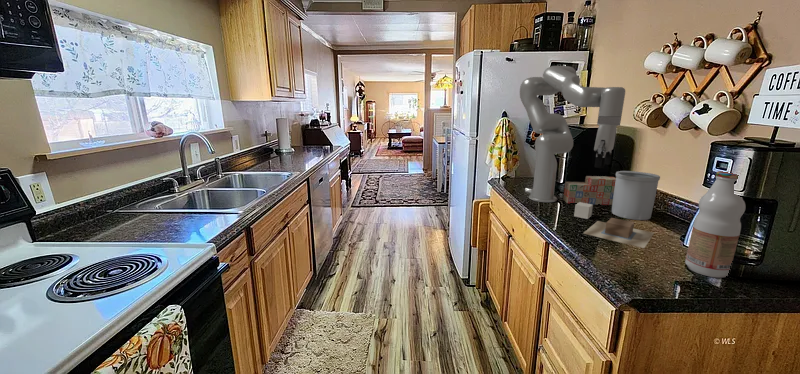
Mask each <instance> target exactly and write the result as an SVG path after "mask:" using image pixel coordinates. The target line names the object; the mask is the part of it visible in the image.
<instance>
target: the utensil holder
mask: <svg viewBox="0 0 800 374" xmlns="http://www.w3.org/2000/svg"><path fill="white" fill-rule="evenodd" d="M615 178H616V181H615V188H614V196H613V203H612V205H611V213H612V214H613V215H615V216H617V217H620V218H625V219H629V220H635V221H646V220H650V219H651V217H652V213H653V208H654V204H655V200H656V195H657V191H658V185H659V181H660V179H661V175H659V174H656V173H650V172H643V171H633V170H632V171H631V170H620V171H619V170H618V171H616V172H615Z"/></svg>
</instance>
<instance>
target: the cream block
mask: <svg viewBox="0 0 800 374" xmlns="http://www.w3.org/2000/svg"><path fill="white" fill-rule="evenodd" d="M593 208H594V204H587V203H582V202H579V203H577V204H574V214H573V217H575V218H581V219H585V220H588V219H590V217H592V215H593Z"/></svg>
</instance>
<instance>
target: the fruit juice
mask: <svg viewBox="0 0 800 374" xmlns="http://www.w3.org/2000/svg"><path fill="white" fill-rule="evenodd" d="M723 171H724V170H719V171H716V173H715V181H714V182H713V184H712V185H711V187H710V188H709V189H708V191H707V192H706V193H704V194H703V195H702V196H701V197H700V199H699V201H698V210H699V211H698V213H697V214H696V216H695V218H694V221H693V224H692V230H691V234H690V238H689V243H688V247H687V252H686V257H685V261H684V263H685V265H686V268H687V269H688V270H690V271H691V272H694V273H696V274H699V275H702V276H706V277H710V278H726V276H727V277H728V276H729V275H728V273H729V270H730V271H731V269H730V266H731V267H732V265H731V263H732V264H733V262H732V261H734V257H735V254H736V249H737V247H738V241H739V238H740V234H741V231H742V222H741V218H742V216H743V214H744V213H745V211H746V202H745V200H744V198H743V197H740V196H738V195H735V194H734V182H735V181H737V179H738V176H739V175H737V174H733V173H728V172H729V171H728V172H723ZM729 274H730V273H729Z"/></svg>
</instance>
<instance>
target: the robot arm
mask: <svg viewBox="0 0 800 374" xmlns="http://www.w3.org/2000/svg"><path fill="white" fill-rule="evenodd" d="M580 82H581V78H580V76H579V75H578V74H577V71H576V70H575V68H574V67H573V66H571V65H570V66H569V65H551V66H549V67H547V68H546V69H545V70H544V71H543V73H542V76H531V77H528V78H527V77H526V79H524V80H522V82H521V84H520V87H519V98H520V101H521V103H522V105H523V107H524V109H525V110H526V113H527V117H528V120H529V123H530V125H531V128H532V131H533V132H534V133H536V134H540V135H539V136H537V138H536V139H535V142H534V148H535V165H534V174H533V175H534V176H533V183H532V184H533V185H532V188H529V187H525V189H524V192H525V193H528V194H529V195H528V198H529V199H530V200H532V201H534V202H538V203H554V202H555V203H556V202H557V200H558V197H557V196H555V195H554V194H555V186H556V180H557V179H556V178H557V170H558V162H557V159H556V156H555V155H556V154H566V153H569V152H571V150H572V149H573V147H574V138H573V136H572V133H571V129H570V128H569V124H568V122H567V120H566V118H565V117H564V115H561V114H559V113H556V112H555V113H550V112H549V111H548V110H547V108H546V105H545V104H544V103H545V102H544V101H543V100H542V99H541V98H539V97H538V96H552V95H556V94H557V93H559V92H560V93H561V95H562V96H563V98H564V100H565V101H566V102H568V103H570V104H571V105H574V106H576V107H578V108H598V113H597V114H598V116H597V122H596V123H597V124H596V125H598V128H597V132H596V137H595V142H594V147H593V151H594V152H596V154H595V159H594V165H593V166H594V168H595V169H604V168H605V165H607V166H608V165H610V164H611V160H612V150H614V147H615V140H616V135H617V127H619V126H621V122H622V114H623V110H624V109H623V108H624V104H625V103H624V102H625V96H626V88H625V87H622V86H609V87H608V86H607V87H599V86H598V87H597V86H593V87H592V86H582V85H581V83H580Z"/></svg>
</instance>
